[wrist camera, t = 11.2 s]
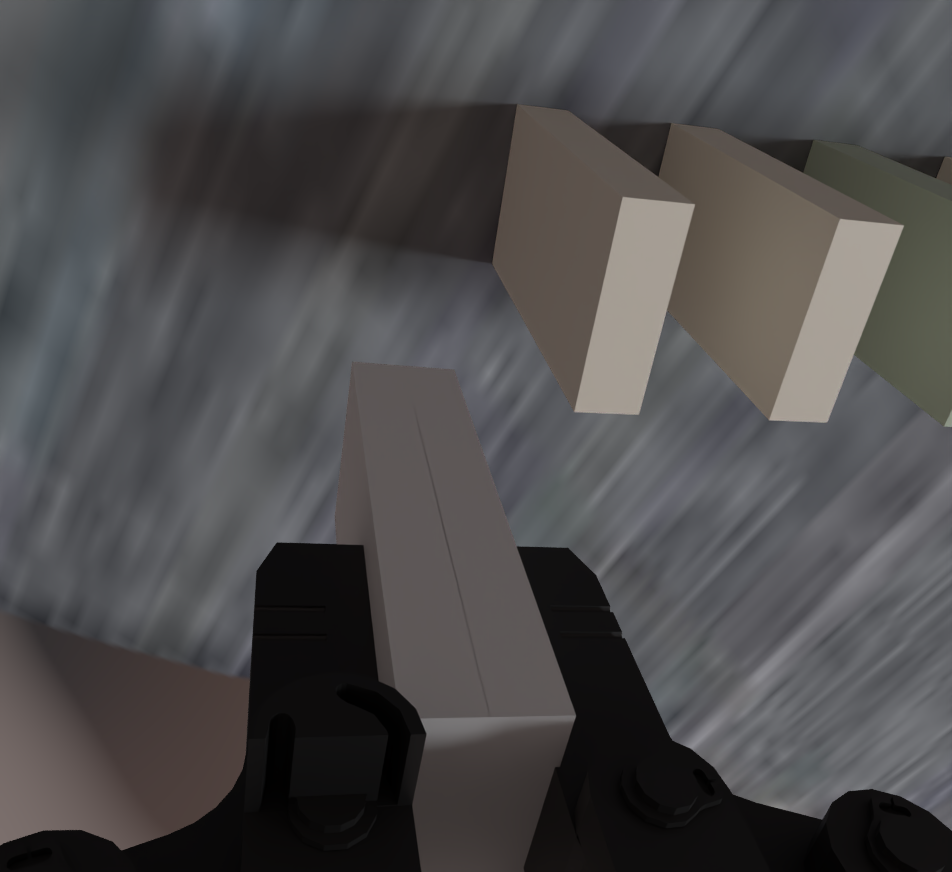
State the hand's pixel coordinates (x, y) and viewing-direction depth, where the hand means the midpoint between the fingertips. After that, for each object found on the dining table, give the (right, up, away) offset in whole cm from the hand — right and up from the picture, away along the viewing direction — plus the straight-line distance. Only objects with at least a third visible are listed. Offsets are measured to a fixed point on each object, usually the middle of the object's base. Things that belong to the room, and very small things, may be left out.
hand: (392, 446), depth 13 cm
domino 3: (+13, +8, +17) cm, 22 cm away
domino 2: (+8, +8, +15) cm, 19 cm away
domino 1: (+3, +8, +14) cm, 17 cm away
